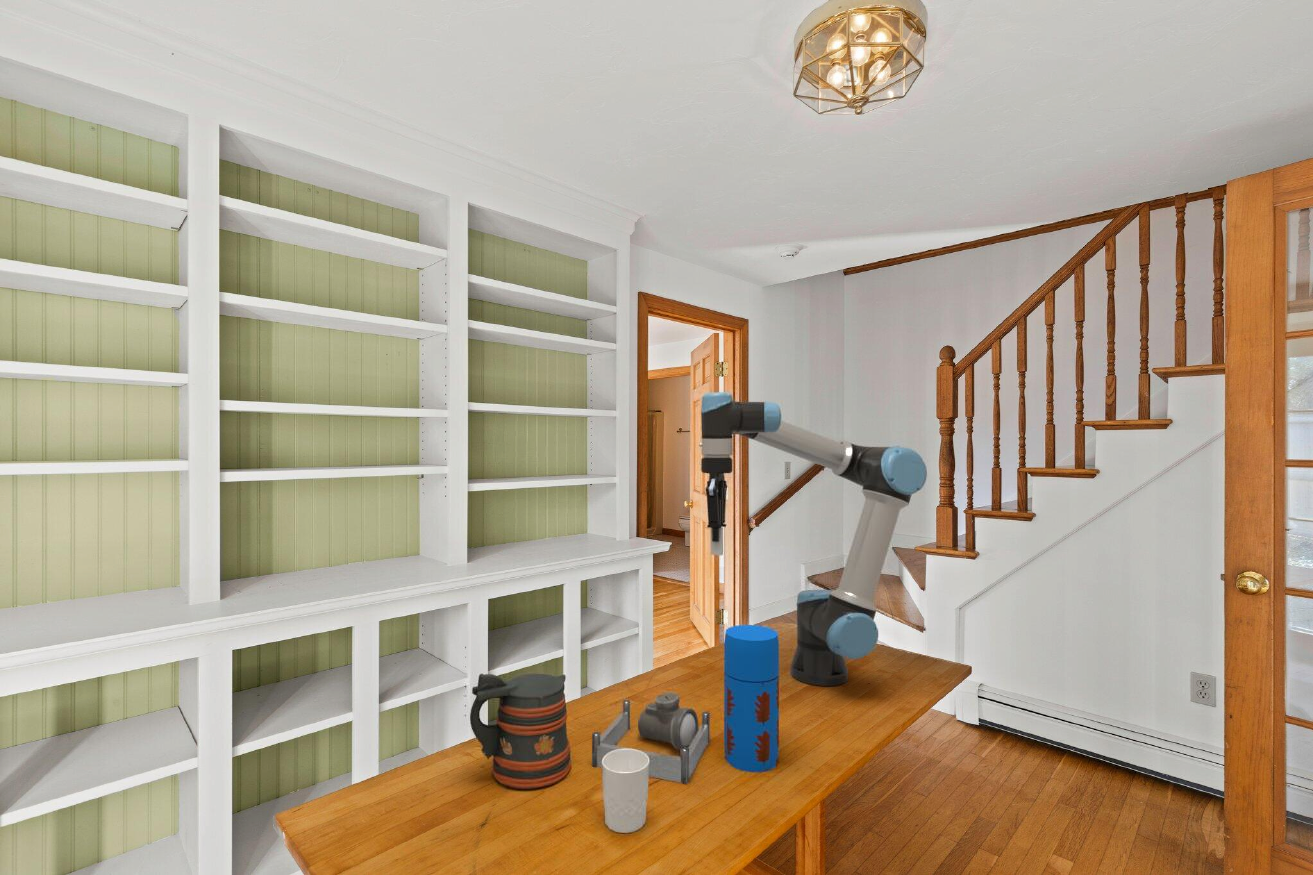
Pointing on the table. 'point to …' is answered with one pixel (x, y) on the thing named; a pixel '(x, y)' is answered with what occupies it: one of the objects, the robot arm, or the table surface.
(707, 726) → the grey metal frame
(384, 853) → the table surface
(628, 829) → the white cup
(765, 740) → the thermos
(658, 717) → the pipe fitting
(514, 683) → the beer stein
